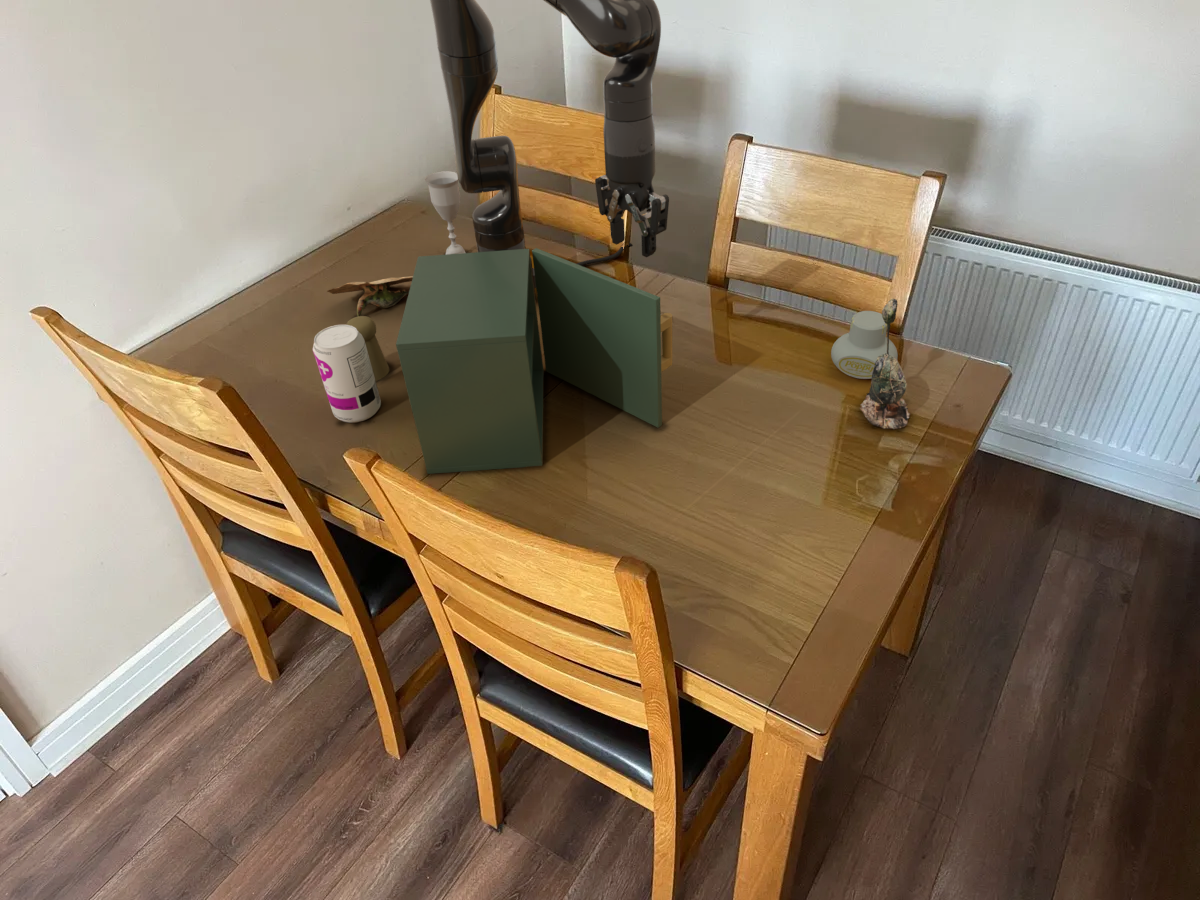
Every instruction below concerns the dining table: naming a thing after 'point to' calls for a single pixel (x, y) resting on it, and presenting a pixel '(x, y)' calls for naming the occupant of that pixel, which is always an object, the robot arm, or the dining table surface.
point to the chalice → (446, 202)
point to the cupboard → (474, 361)
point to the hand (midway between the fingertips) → (633, 248)
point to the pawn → (371, 345)
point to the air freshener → (862, 345)
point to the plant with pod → (887, 385)
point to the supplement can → (346, 373)
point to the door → (603, 335)
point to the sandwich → (375, 292)
